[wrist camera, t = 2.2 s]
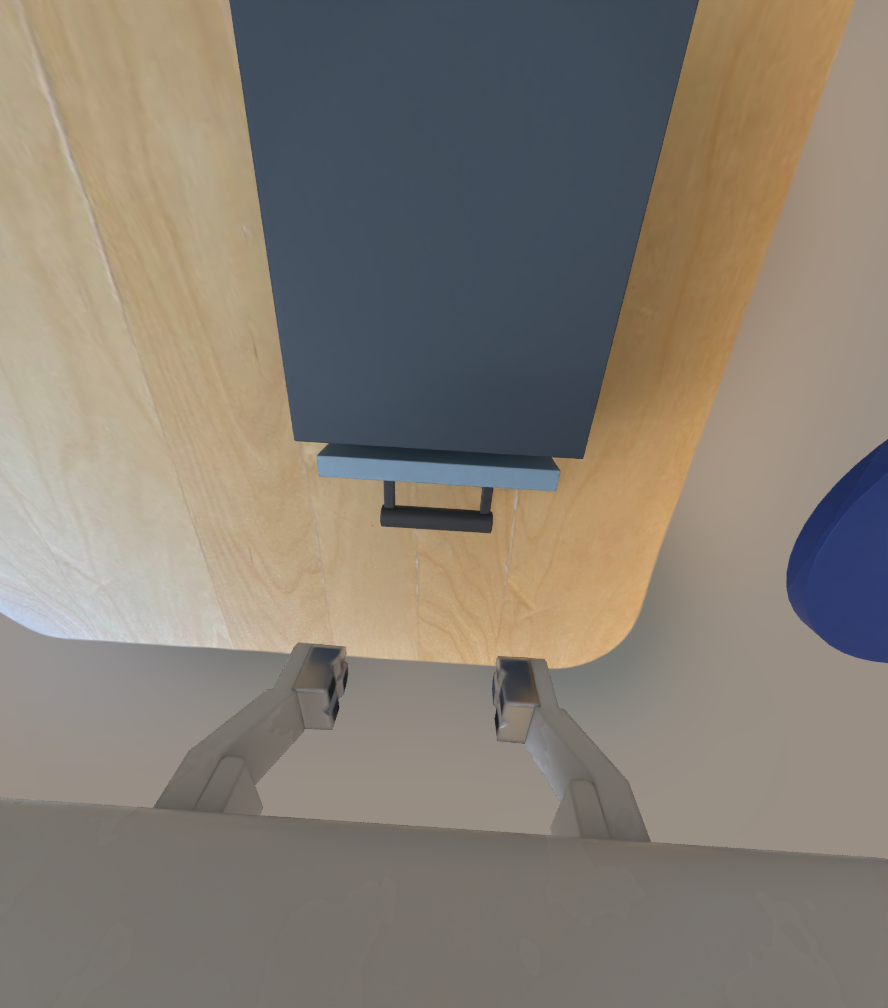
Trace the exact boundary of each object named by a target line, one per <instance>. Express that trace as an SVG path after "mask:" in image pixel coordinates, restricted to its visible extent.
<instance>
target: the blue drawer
mask: <svg viewBox="0 0 888 1008" xmlns="http://www.w3.org/2000/svg"><path fill="white" fill-rule="evenodd" d="M317 464H318V472H319V476H322V477H337V478H353V479H369V480H384V505H383V506H382V508H381V515H380V522H381V526H385V527H401V528H416V529H432V530H448V531H463V532H479V533H491V531H492V525H493V514H492V512H491V511H490V509H491V501H492V493H493V487H495V488H511V489H527V490H543V491H556V490H557V485H558V481H559V477H560V472H561V471H560V469H559V468H558V466H557V465H556V463H555V462H554V460H553V459H552V458H551V457H543V456H527V455H511V454H495V453H479V452H463V451H447V450H431V449H416V448H400V447H384V446H368V445H352V444H336V443H329V444H328V445H327V446H326V447H325V448H324V449H323V450H322V451H321V452H320V453H319V454H318V455H317ZM395 481H400V482H416V483H432V484H448V485H464V486H479V487H482V495H481V504H480V511H478V510H462V509H446V508H431V507H415V506H399V505H395Z"/></svg>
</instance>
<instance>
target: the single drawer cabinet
mask: <svg viewBox="0 0 888 1008" xmlns="http://www.w3.org/2000/svg"><path fill="white" fill-rule="evenodd" d="M229 1H230V7H231V14H232V21H233V28H234V35H235V41H236V48H237V55H238V62H239V68H240V75H241V82H242V89H243V95H244V102H245V109H246V116H247V123H248V129H249V136H250V143H251V150H252V156H253V163H254V170H255V177H256V183H257V190H258V197H259V204H260V211H261V217H262V224H263V231H264V238H265V244H266V251H267V258H268V265H269V271H270V278H271V285H272V292H273V299H274V305H275V312H276V319H277V326H278V332H279V339H280V346H281V353H282V359H283V366H284V373H285V380H286V387H287V393H288V400H289V407H290V414H291V420H292V427H293V434H294V440H295V441H305V442H320V443H336V444H352V445H368V446H384V447H400V448H416V449H431V450H447V451H463V452H479V453H495V454H511V455H527V456H543V457H558V458H574V459H583V457H584V453H585V449H586V445H587V441H588V437H589V433H590V429H591V425H592V421H593V417H594V413H595V409H596V406H597V402H598V398H599V394H600V390H601V386H602V382H603V378H604V374H605V370H606V366H607V362H608V358H609V354H610V350H611V346H612V342H613V338H614V334H615V330H616V326H617V322H618V318H619V314H620V310H621V306H622V303H623V299H624V295H625V291H626V287H627V283H628V279H629V275H630V271H631V267H632V263H633V259H634V255H635V251H636V247H637V243H638V239H639V235H640V231H641V227H642V223H643V219H644V215H645V211H646V207H647V204H648V200H649V196H650V192H651V188H652V184H653V180H654V176H655V172H656V168H657V164H658V160H659V156H660V152H661V148H662V144H663V140H664V136H665V132H666V128H667V124H668V120H669V116H670V112H671V108H672V104H673V101H674V97H675V93H676V89H677V85H678V81H679V77H680V73H681V69H682V65H683V61H684V57H685V53H686V49H687V45H688V41H689V37H690V33H691V29H692V25H693V21H694V17H695V13H696V9H697V5H698V1H699V0H229Z"/></svg>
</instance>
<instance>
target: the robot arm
mask: <svg viewBox="0 0 888 1008" xmlns="http://www.w3.org/2000/svg"><path fill="white" fill-rule="evenodd" d="M346 654H347V653H346V647H344V646H333V645H323V644H311V643H297V644H296V646H295V647H294V648H293V650H292V652H291V654H290V656H289V658H288V660H287V662H286V664H285V666H284V668H283V670H282V672H281V674H280V676H279V678H278V680H277V682H276V684H275V686H274V688H273V689H267V690H266V691H265V692H264V693H262V694H261V695H260V696H259V697H257V698H256V699H255V700H253V701H252V702H251V703H250V704H248V705H247V706H246V707H245V708H243V709H242V710H241V711H239V712H238V713H237V714H236V715H234V716H233V717H232V718H230V719H229V720H228V721H226V722H225V723H224V724H223V725H221V726H220V727H219V728H218V729H216V730H215V731H214V732H213V733H211V734H210V735H209V736H207V737H206V738H205V739H204V740H202V741H201V742H200V743H198V744H197V745H196V746H195V747H193V748H192V749H191V750H189V752H188V753H187V755H186V756H185V758H184V759H183V761H182V763H181V764H180V766H179V767H178V769H177V771H176V772H175V774H174V775H173V777H172V779H171V780H170V782H169V784H168V785H167V787H166V788H165V790H164V791H163V793H162V795H161V796H160V798H159V799H158V801H157V802H156V804H155V806H154V807H153V808H144V807H129V806H115V805H101V804H85V803H71V802H70V803H69V802H57V801H41V800H27V799H13V798H0V1008H888V859H884V858H876V857H863V856H862V857H861V856H844V855H829V854H815V853H801V852H787V851H772V850H757V849H742V848H728V847H714V846H698V845H685V844H669V843H656V842H655V843H654V842H651V841H650V838H649V836H648V833H647V830H646V828H645V825H644V822H643V819H642V817H641V814H640V811H639V809H638V806H637V803H636V800H635V798H634V795H633V792H632V790H631V787H630V784H629V782H628V780H627V779H626V778H625V777H624V776H623V775H622V774H621V773H620V771H619V770H618V769H617V768H616V767H615V766H614V765H613V764H612V762H611V761H610V760H609V759H608V758H607V757H606V756H605V755H604V753H603V752H602V751H601V750H600V749H599V748H598V747H597V746H596V745H595V743H594V742H593V741H592V740H591V739H590V738H589V737H588V736H587V735H586V733H585V732H584V731H583V730H582V729H581V728H580V727H579V726H578V725H577V723H576V722H575V721H574V720H573V719H572V718H571V717H570V715H569V714H568V713H567V712H566V711H565V710H564V709H561V708H559V707H558V703H557V699H556V696H555V692H554V688H553V685H552V681H551V677H550V674H549V669H548V666H547V662H546V661H545V659H536V658H526V657H506V656H498V657H497V659H496V672H495V673H494V676H493V688H492V690H493V704H494V706H495V707H496V715H495V726H496V736H497V741H503V742H513V743H523V744H525V747H526V748H527V750H528V751H529V753H530V755H531V756H532V758H533V759H534V761H535V763H536V764H537V766H538V767H539V769H540V770H541V772H542V774H543V775H544V777H545V778H546V780H547V781H548V783H549V785H550V786H551V788H552V790H553V791H554V793H555V794H556V796H557V797H558V799H559V801H560V802H561V804H560V806H559V808H558V810H557V813H556V815H555V818H554V820H553V822H552V824H551V827H550V828H551V834H552V835H539V834H525V833H509V832H495V831H481V830H467V829H452V828H438V827H423V826H408V825H393V824H379V823H364V822H363V823H362V822H348V821H334V820H320V819H305V818H291V817H276V816H261V815H260V814H261V812H262V809H263V806H262V803H261V800H260V798H259V795H258V793H257V790H256V787H255V785H256V784H257V782H258V781H259V780H260V779H261V778H262V777H263V776H264V775H265V774H266V773H267V771H268V770H269V769H270V768H271V767H272V766H273V765H274V763H276V761H277V760H278V759H279V758H280V757H281V756H282V755H283V754H284V753H285V752H286V751H287V750H288V748H289V747H290V746H291V745H292V744H293V743H294V742H295V741H296V740H297V739H298V737H299V736H300V735H301V734H302V733H303V732H304V729H321V730H333V727H334V724H335V720H336V717H337V714H338V711H339V702H338V699H339V698H340V697H341V696H342V695H343V694H344V690H345V687H346V683H347V677H348V663H347V662H346V661H345V657H346Z"/></svg>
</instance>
